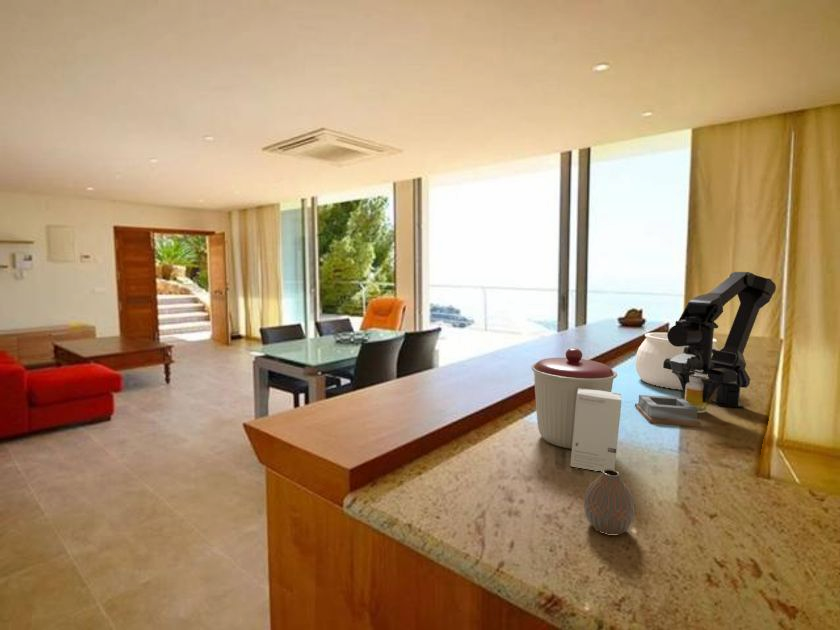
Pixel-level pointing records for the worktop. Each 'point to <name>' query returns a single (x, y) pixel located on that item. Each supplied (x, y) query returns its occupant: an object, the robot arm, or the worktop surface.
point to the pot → (659, 360)
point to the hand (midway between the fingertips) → (695, 399)
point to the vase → (609, 503)
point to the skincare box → (595, 429)
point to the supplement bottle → (695, 393)
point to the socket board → (667, 410)
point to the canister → (565, 392)
